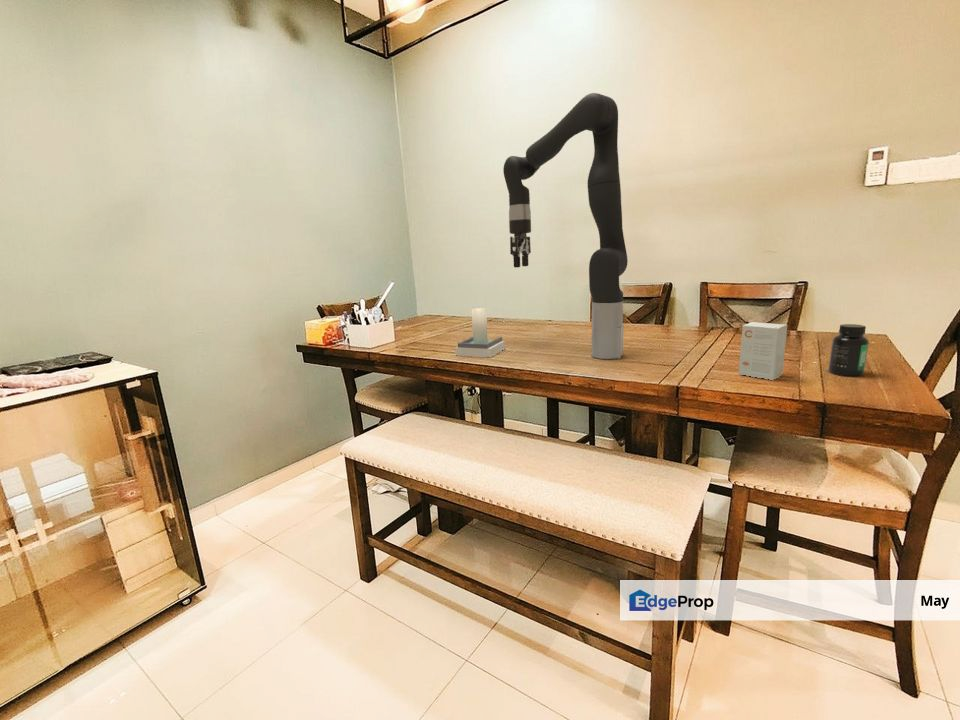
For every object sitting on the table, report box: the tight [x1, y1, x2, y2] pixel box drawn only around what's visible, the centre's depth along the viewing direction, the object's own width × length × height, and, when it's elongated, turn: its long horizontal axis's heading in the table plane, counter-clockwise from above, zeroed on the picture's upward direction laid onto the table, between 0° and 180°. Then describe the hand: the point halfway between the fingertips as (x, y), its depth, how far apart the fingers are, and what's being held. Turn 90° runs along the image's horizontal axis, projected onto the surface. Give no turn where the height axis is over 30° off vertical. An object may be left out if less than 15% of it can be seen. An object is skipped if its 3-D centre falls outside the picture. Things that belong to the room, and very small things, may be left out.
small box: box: [738, 321, 788, 381], centre depth 110 cm, size 8×6×13 cm
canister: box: [470, 307, 489, 344], centre depth 151 cm, size 5×5×12 cm
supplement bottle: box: [828, 323, 870, 378], centre depth 108 cm, size 7×7×12 cm
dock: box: [454, 336, 506, 359], centre depth 153 cm, size 13×13×4 cm
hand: (521, 266), depth 156 cm, fingers open, 8 cm apart
